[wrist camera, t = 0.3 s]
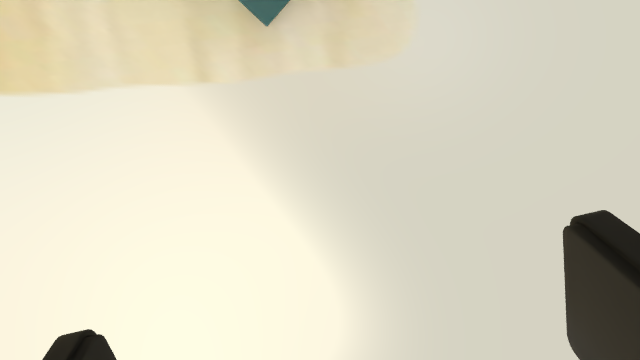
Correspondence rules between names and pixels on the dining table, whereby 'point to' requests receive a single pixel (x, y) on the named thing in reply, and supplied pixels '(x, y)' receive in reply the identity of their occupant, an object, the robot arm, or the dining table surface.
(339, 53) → the dining table surface
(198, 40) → the dining table surface
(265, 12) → the button base
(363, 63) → the dining table surface
